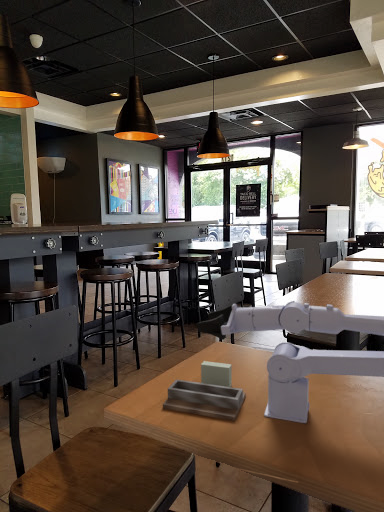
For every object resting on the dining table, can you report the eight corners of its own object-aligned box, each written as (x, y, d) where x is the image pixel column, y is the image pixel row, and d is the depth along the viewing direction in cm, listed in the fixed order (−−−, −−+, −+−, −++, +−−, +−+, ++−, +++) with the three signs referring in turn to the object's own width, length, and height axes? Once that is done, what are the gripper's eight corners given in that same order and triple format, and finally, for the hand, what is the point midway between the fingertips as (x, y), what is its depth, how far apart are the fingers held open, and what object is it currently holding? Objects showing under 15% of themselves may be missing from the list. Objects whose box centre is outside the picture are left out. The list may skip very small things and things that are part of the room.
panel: (231, 385, 102) (231, 364, 102) (229, 389, 100) (229, 368, 99) (204, 381, 105) (203, 360, 104) (201, 385, 103) (200, 364, 102)
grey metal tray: (245, 396, 96) (245, 383, 95) (234, 421, 84) (234, 406, 84) (180, 386, 102) (180, 374, 101) (162, 408, 91) (162, 394, 90)
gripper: (259, 294, 95) (210, 299, 100) (244, 312, 82) (189, 316, 87) (264, 321, 96) (215, 324, 101) (250, 342, 82) (195, 344, 88)
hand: (203, 322), depth 94 cm, fingers open, 7 cm apart
